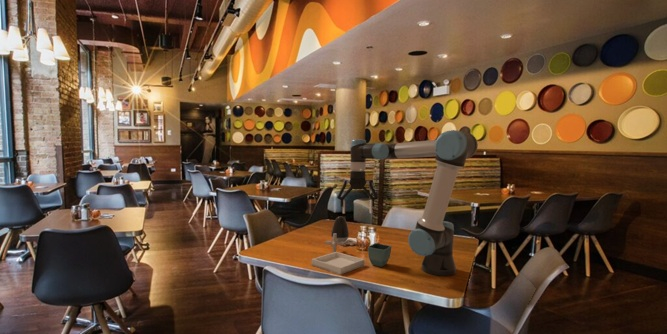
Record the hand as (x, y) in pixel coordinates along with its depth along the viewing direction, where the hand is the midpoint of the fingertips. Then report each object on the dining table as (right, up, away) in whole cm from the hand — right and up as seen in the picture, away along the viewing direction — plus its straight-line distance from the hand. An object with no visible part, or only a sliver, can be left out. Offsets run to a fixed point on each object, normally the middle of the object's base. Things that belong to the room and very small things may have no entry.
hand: (357, 213), depth 181 cm
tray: (-10, -23, -11) cm, 27 cm away
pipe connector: (-11, -22, +11) cm, 27 cm away
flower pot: (+10, -24, -8) cm, 27 cm away
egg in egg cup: (-8, -21, +33) cm, 40 cm away
